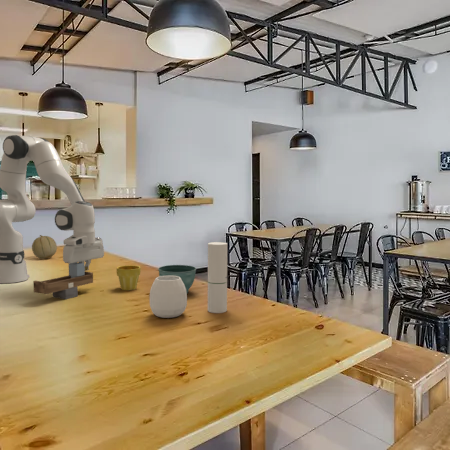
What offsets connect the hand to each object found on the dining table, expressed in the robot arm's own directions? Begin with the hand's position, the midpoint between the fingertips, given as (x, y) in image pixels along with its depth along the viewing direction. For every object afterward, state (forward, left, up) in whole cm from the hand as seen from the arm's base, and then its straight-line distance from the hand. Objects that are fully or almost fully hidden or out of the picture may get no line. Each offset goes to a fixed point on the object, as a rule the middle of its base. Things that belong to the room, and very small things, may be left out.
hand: (84, 270), depth 183 cm
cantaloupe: (-87, +47, -9) cm, 99 cm away
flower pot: (+36, +18, -9) cm, 41 cm away
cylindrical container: (+64, +4, -9) cm, 65 cm away
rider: (0, -4, -3) cm, 5 cm away
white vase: (+52, -10, -9) cm, 54 cm away
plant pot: (+13, +13, -9) cm, 21 cm away
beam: (0, -11, -9) cm, 14 cm away
